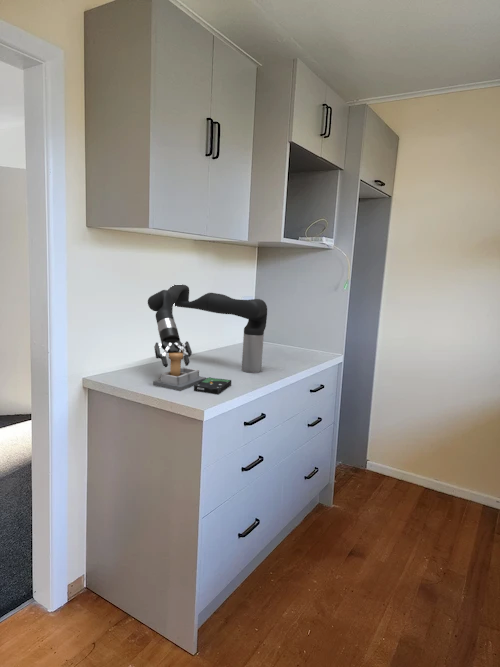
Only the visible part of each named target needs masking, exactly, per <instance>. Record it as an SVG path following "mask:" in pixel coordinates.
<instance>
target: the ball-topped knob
mask: <svg viewBox="0 0 500 667" xmlns="http://www.w3.org/2000/svg"><path fill="white" fill-rule="evenodd" d="M168 359H169V360H170V365H169V372H170V375H171V376H177V377H178V376H180V371H181V368H182V367H181V366H182V365H181V364H182V363H181V362H182V360H184V357H183V353H181V351H180V352H172V353H168Z"/></svg>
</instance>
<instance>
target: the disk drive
mask: <svg viewBox="0 0 500 667" xmlns="http://www.w3.org/2000/svg"><path fill="white" fill-rule="evenodd" d="M231 386H232V379H224V378H215V377H206V379H204V380H203V381H201V382H199V383H197V384H196V385H194V386H193V391H194V392H199V393H205V394H212V395H220V394H222V393H223V392H224V391H226V390H227V389H228V388H230V387H231Z"/></svg>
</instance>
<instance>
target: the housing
mask: <svg viewBox="0 0 500 667" xmlns="http://www.w3.org/2000/svg"><path fill="white" fill-rule="evenodd" d="M206 378H207V377H205V376H200V369H194V368H190V367H189V368H188V367H183V366H182V367H181V371H180V376H178V377H177V376H171V375H170V371H167V372H164V373H161V374H160V378H159V379H157V380H154V381H152V385H153V386H154V387H158V388H159V387H160V388H165V389H170V390H176V391H179V392H182V391H184V390H187V389H189V388H192V387H194V385H196V384H197V383H199V382H201V381H203V380H204V379H206Z"/></svg>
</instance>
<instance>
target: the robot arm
mask: <svg viewBox="0 0 500 667" xmlns="http://www.w3.org/2000/svg"><path fill="white" fill-rule="evenodd" d="M173 285H174V286H172V285H171V286H172V287H171V286H170V287H169V288H168V289H162V290H160V291H158V292H156V293H154V294H152V295H150V296H149V298H148V299H147V306H148V308H149V309H150V310H152V311H153V312H155V319H156V320H155V321H156V324H157V330H158V335H159V340H160V342H161V343H159V342H155V344H154V346H153V347H154V353H155V354H154V355H155V358H156V359H161V362H162V367H163V366H164V368H167V367H168V366H169V363H168V359H167V354H169V353H172V352H181V353H183V361H184V364H185V367H188V366H189V364H190V357H191V355H192V353H193V352H192V349H191V346H190V342H189V341H185V342H181V339H180V338H181V337H180V334H179V331H178V327H177V324H176V321H175V318H174V315H173V307H176V306H177V307H176V308H184V309H192V310H193V309H194V310H200V311H205V312H210V313H214V314H215V313H216V314H221V315H232V316H236V317H241V318H243V319H247V320H248V321H247V324H246V325H245V326H244V327H243V337H242V338H243V339H242V340H243V341H242V342H243V343H242V356H241V358H242V360H241V371H243V372H246V373H261V372H262V368H263V367H262V365H263V352H264V351H263V349H264V336H265V330H266V327H267V319H268V317H267V316H268V306H267V303H266V302H265V301H264V300H263V299H260V298H254V299H253V298H251V299H236V298H233V297H231V296H227V295H226V294H222V293H217V292H207V293H204V294H203V295H202V296H200V297H198V298H196V299H194V300H191V301H190V300H189V299H190V287H189V286H188V285H186V284H182V285H175V284H173ZM174 303H175V306H173V304H174ZM160 349H162V350H164V351H163V353H161V350H160Z"/></svg>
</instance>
